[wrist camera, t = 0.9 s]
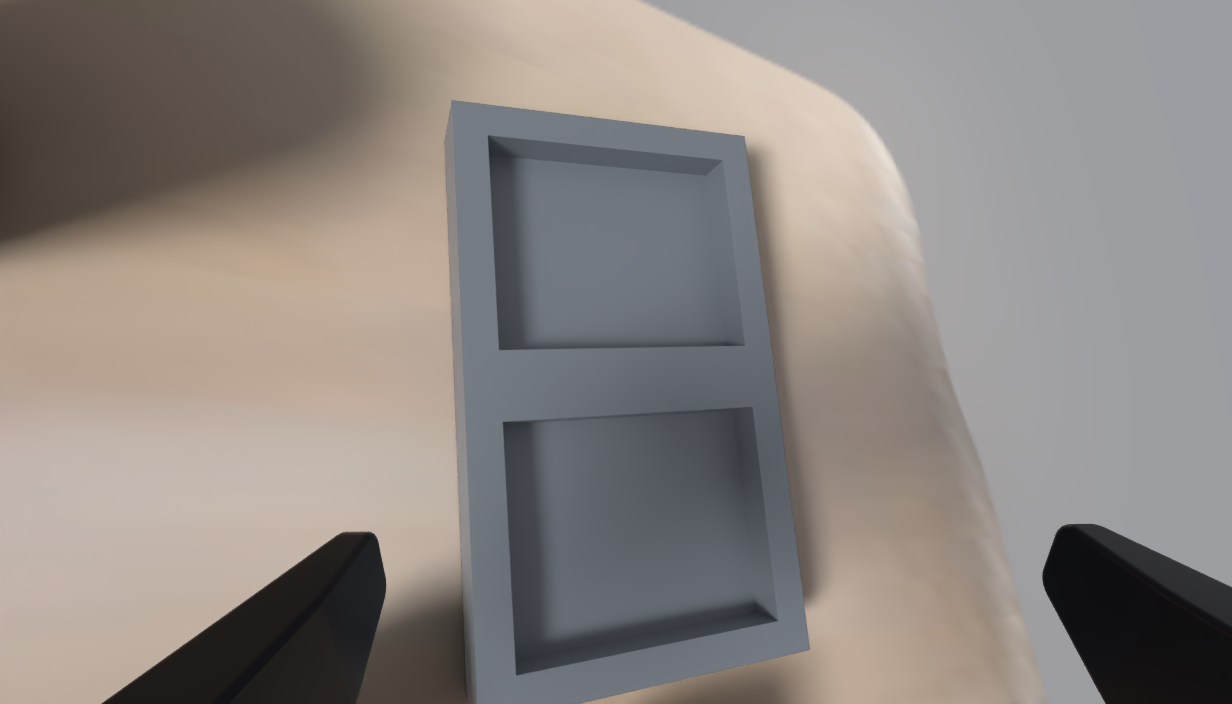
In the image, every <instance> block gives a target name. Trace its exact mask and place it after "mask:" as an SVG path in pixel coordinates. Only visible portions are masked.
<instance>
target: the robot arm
mask: <svg viewBox="0 0 1232 704" xmlns="http://www.w3.org/2000/svg"><path fill="white" fill-rule="evenodd" d="M1042 578H1043V585H1044V588H1045V591H1046V593H1047V595H1048V597H1049V599H1050V601H1051V603H1052V605H1053V607H1054V608H1055V610H1056V612H1057V614H1058V616H1059V618H1060V620H1061V621H1062V623H1063V625H1064V627H1065V629H1066V631H1067V633H1068V635H1069V636H1070V639H1071V640H1072V642H1073V644H1074V646H1075V648H1076V650H1077V652H1078V654H1079V655H1080V657H1081V659H1082V661H1083V663H1084V665H1085V666H1086V668H1087V670H1088V672H1089V674H1090V676H1091V678H1092V680H1093V682H1094V684H1095V686H1096V687H1097V689H1098V691H1099V692H1100V694H1101V696H1102V698H1103V700H1104V702H1105V703H1106V704H1232V587H1230V586H1228V585H1226V584H1224V583H1222V582H1219V581H1217V580H1215V579H1213V578H1211V577H1209V576H1207V575H1204V574H1203V573H1200V572H1198V571H1196V570H1194V569H1192V568H1190V567H1188V566H1185V565H1183V564H1181V563H1179V562H1177V561H1175V560H1172V559H1171V558H1168V557H1166V556H1164V555H1162V554H1160V553H1158V552H1156V551H1153V550H1151V549H1149V548H1147V547H1145V546H1143V545H1141V544H1139V543H1136V542H1134V541H1132V540H1130V539H1128V538H1126V537H1124V536H1121V535H1119V534H1117V533H1115V532H1113V531H1111V530H1109V529H1107V528H1104V527H1102V526H1099V525H1095V524H1068V525H1064V526H1062V527H1061V528H1060V529H1059V530H1058V531H1057V533H1056V535H1055V538H1054V541H1053V543H1052V546H1051V549H1050V552H1049V555H1048V558H1047V561H1046V563H1045V566H1044V569H1043V576H1042ZM385 594H386V577H385V572H384V568H383V563H382V558H381V553H380V548H379V543H378V540H377V537H376V536H375V534H373V533H372V532H343V533H340V534H339V535H337V536H335V537H334V538H333V539H331V540H330V541H328V542H327V543H326V544H324V545H323V546H321V547H320V548H319V549H317V550H316V551H314V552H313V553H312V554H310V555H309V556H307V557H306V558H305V559H303V560H302V561H300V562H299V563H298V564H296V565H295V566H293V567H292V568H291V569H289V570H288V571H286V572H285V573H284V574H282V575H281V576H279V577H278V578H277V579H275V580H274V581H272V582H271V583H270V584H268V585H267V586H265V587H264V588H263V589H261V590H260V591H258V592H257V593H256V594H254V595H253V596H251V597H250V598H249V599H247V600H246V601H244V602H243V603H242V604H240V605H239V606H237V607H236V608H235V609H233V610H232V611H230V612H229V613H228V614H226V615H225V616H223V617H222V618H221V619H219V620H218V621H216V622H215V623H214V624H212V625H211V626H209V627H208V628H207V629H205V630H204V631H202V632H201V633H200V634H198V635H197V636H195V637H194V638H193V639H191V640H190V641H188V642H187V643H186V644H184V645H183V646H181V647H180V648H179V649H177V650H176V651H174V652H173V653H172V654H170V655H169V656H167V657H166V658H165V659H163V660H162V661H160V662H159V663H158V664H156V665H155V666H153V667H152V668H151V669H149V670H148V671H146V672H145V673H144V674H142V675H141V676H139V677H138V678H137V679H135V680H134V681H132V682H131V683H130V684H128V685H127V686H125V687H124V688H123V689H121V690H120V691H118V692H117V693H116V694H114V695H113V696H111V697H110V698H109V699H107V700H106V701H104V702H103V703H102V704H356V702H357V698H358V695H359V691H360V688H361V684H362V680H363V677H364V673H365V669H366V666H367V662H368V658H369V654H370V651H371V647H372V643H373V640H374V636H375V632H376V629H377V625H378V621H379V618H380V614H381V610H382V606H383V603H384V599H385Z"/></svg>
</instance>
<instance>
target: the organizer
mask: <svg viewBox="0 0 1232 704" xmlns="http://www.w3.org/2000/svg"><path fill="white" fill-rule="evenodd" d="M445 164H446V189H447V214H448V240H449V265H450V290H451V315H452V341H453V366H454V391H455V416H456V442H457V467H458V492H459V518H460V543H461V568H462V593H463V619H464V644H465V669H466V694H467V698H468V701H469V703H470V704H580V703H584V702H588V701H593V700H597V699H601V698H606V697H610V696H614V695H618V694H623V693H627V692H631V691H636V690H640V689H644V688H648V687H653V686H657V685H661V684H666V683H670V682H674V681H679V680H683V679H687V678H691V677H696V676H700V675H704V674H709V673H713V672H717V671H721V670H726V669H730V668H734V667H739V666H743V665H747V664H751V663H756V662H760V661H764V660H769V659H773V658H777V657H782V656H786V655H790V654H794V653H799V652H803V651H807V650H810V646H809V639H808V631H807V623H806V615H805V607H804V599H803V592H802V584H801V576H800V568H799V560H798V552H797V545H796V537H795V529H794V521H793V513H792V505H791V497H790V490H789V482H788V474H787V466H786V458H785V450H784V443H783V435H782V427H781V419H780V411H779V403H778V396H777V388H776V380H775V372H774V364H773V356H772V349H771V341H770V333H769V325H768V317H767V309H766V302H765V294H764V286H763V278H762V270H761V262H760V254H759V247H758V239H757V231H756V223H755V215H754V207H753V200H752V192H751V184H750V176H749V168H748V160H747V153H746V145H745V137H744V136H738V135H730V134H722V133H714V132H706V131H698V130H690V129H682V128H673V127H665V126H657V125H649V124H641V123H633V122H625V121H617V120H608V119H600V118H592V117H584V116H576V115H568V114H560V113H552V112H544V111H535V110H527V109H519V108H511V107H503V106H495V105H487V104H479V103H470V102H462V101H454V100H452V102H451V108H450V113H449V119H448V125H447V130H446V136H445Z"/></svg>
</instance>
